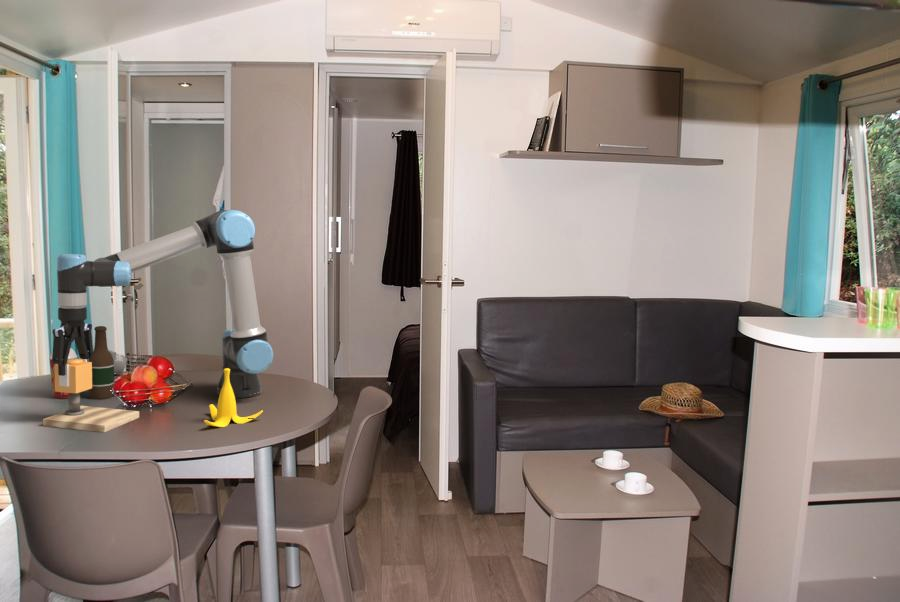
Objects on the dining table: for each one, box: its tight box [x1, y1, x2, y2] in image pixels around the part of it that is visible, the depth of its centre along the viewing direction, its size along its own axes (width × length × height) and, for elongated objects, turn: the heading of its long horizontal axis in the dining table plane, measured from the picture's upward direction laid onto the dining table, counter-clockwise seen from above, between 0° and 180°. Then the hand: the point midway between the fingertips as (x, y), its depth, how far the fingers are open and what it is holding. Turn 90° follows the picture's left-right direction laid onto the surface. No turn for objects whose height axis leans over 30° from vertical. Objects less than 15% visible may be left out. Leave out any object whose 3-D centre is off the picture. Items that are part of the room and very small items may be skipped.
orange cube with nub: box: [54, 358, 92, 393], centre depth 212 cm, size 7×7×9 cm
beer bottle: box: [88, 325, 115, 400], centre depth 240 cm, size 8×8×24 cm
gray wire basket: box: [108, 349, 152, 376], centre depth 271 cm, size 27×11×10 cm, turn 85°
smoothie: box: [48, 347, 79, 400], centre depth 238 cm, size 8×8×20 cm
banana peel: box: [203, 368, 264, 428], centre depth 215 cm, size 17×19×17 cm
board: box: [42, 392, 140, 433], centre depth 212 cm, size 20×16×9 cm
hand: (73, 383), depth 212 cm, fingers closed on orange cube with nub, 7 cm apart
